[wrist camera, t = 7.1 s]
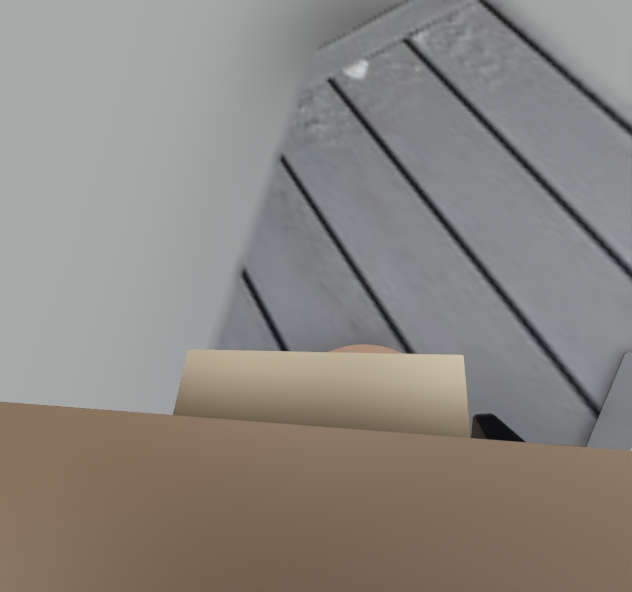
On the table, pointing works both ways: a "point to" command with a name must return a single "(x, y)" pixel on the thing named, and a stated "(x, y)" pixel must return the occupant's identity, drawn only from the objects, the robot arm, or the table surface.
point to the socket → (616, 412)
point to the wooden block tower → (305, 488)
